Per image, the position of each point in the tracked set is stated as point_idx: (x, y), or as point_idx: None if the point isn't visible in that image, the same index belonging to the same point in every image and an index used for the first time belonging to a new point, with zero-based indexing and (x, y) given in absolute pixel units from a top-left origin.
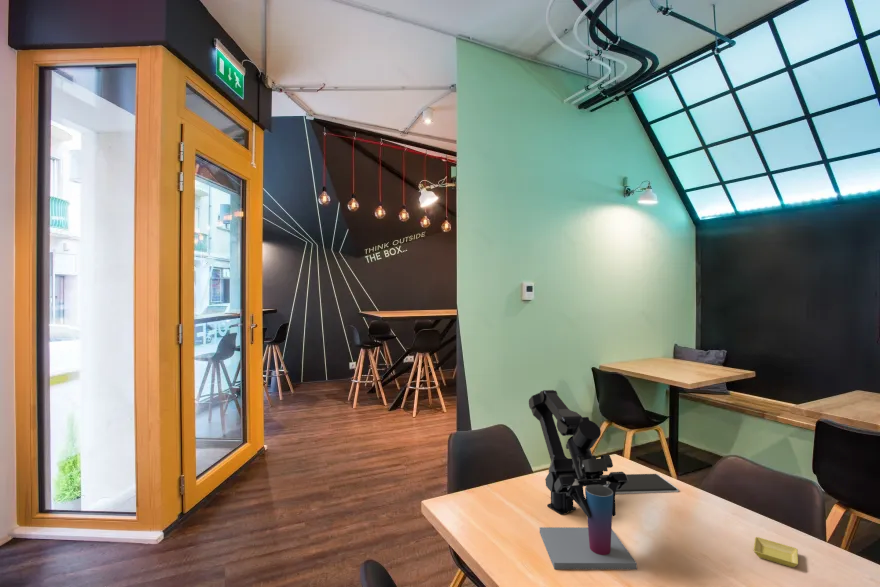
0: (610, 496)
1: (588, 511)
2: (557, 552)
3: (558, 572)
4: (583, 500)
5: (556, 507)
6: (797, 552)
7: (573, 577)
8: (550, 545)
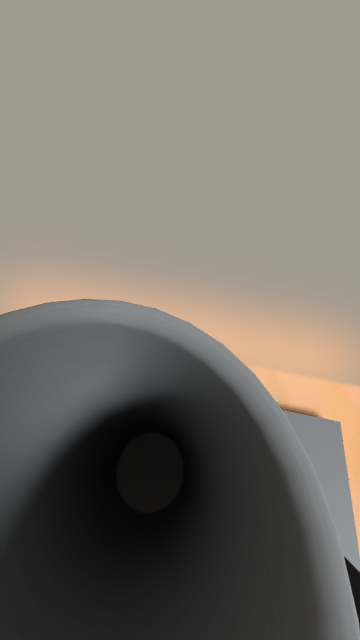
0: (29, 314)
1: None
2: (320, 483)
3: (317, 407)
4: None
5: None
6: None
7: (280, 379)
8: (343, 549)
